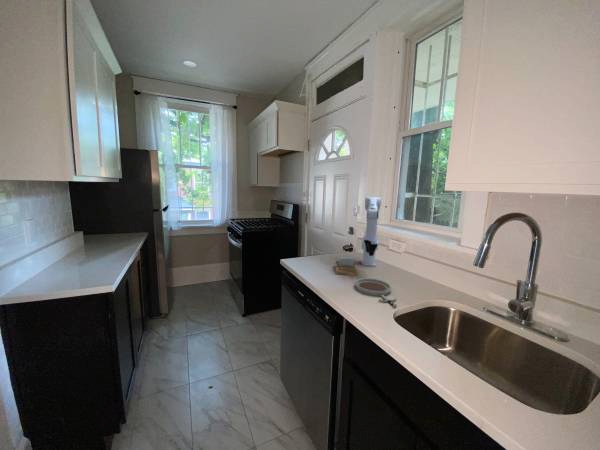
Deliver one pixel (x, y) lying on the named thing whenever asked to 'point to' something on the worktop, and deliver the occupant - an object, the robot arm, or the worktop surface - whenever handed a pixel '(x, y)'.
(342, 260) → the upright pale blue slab
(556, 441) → the worktop surface
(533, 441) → the worktop surface
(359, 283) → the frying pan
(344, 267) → the rack
